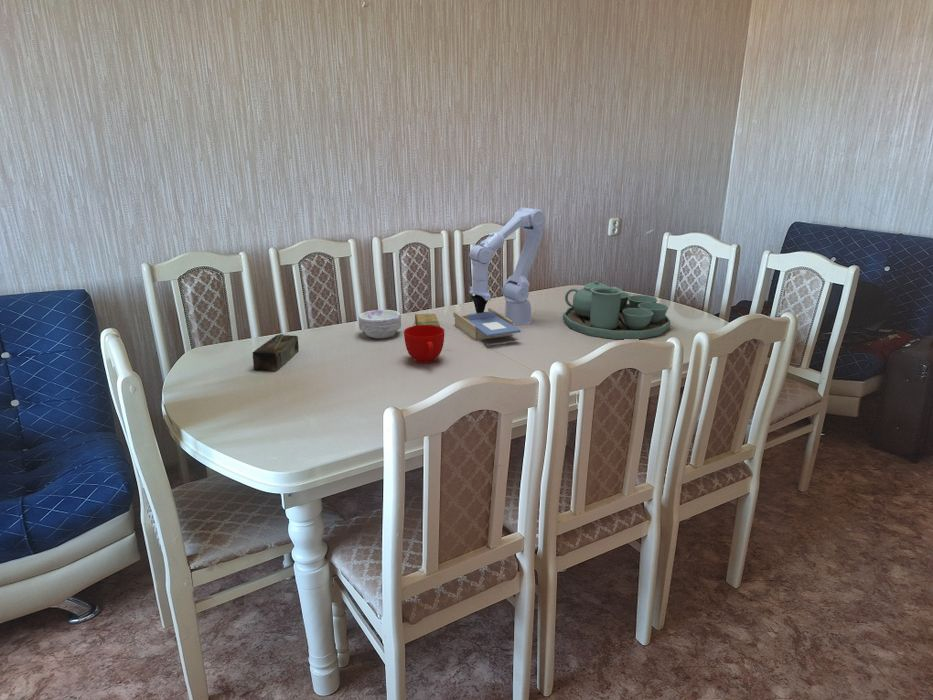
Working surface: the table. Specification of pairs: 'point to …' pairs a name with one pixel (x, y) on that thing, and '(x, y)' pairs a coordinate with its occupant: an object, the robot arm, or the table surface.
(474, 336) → the beige shallow box
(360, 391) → the table surface
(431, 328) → the ceramic cup
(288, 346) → the dark brown block
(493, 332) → the lid
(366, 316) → the paper bowls
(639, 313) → the tea set
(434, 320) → the carton
